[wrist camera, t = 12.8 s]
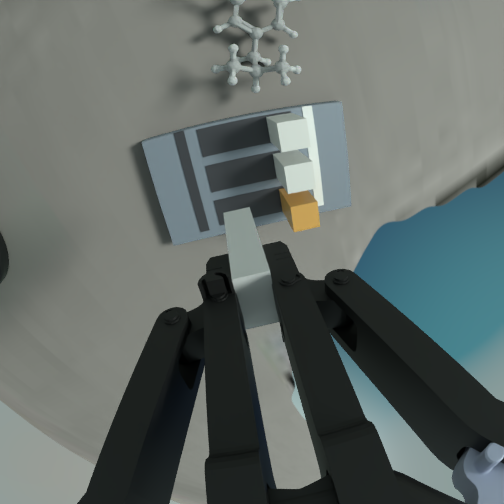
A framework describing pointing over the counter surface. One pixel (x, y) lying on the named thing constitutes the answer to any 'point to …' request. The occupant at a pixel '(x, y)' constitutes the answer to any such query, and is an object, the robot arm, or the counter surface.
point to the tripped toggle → (300, 209)
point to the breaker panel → (249, 167)
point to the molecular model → (254, 56)
